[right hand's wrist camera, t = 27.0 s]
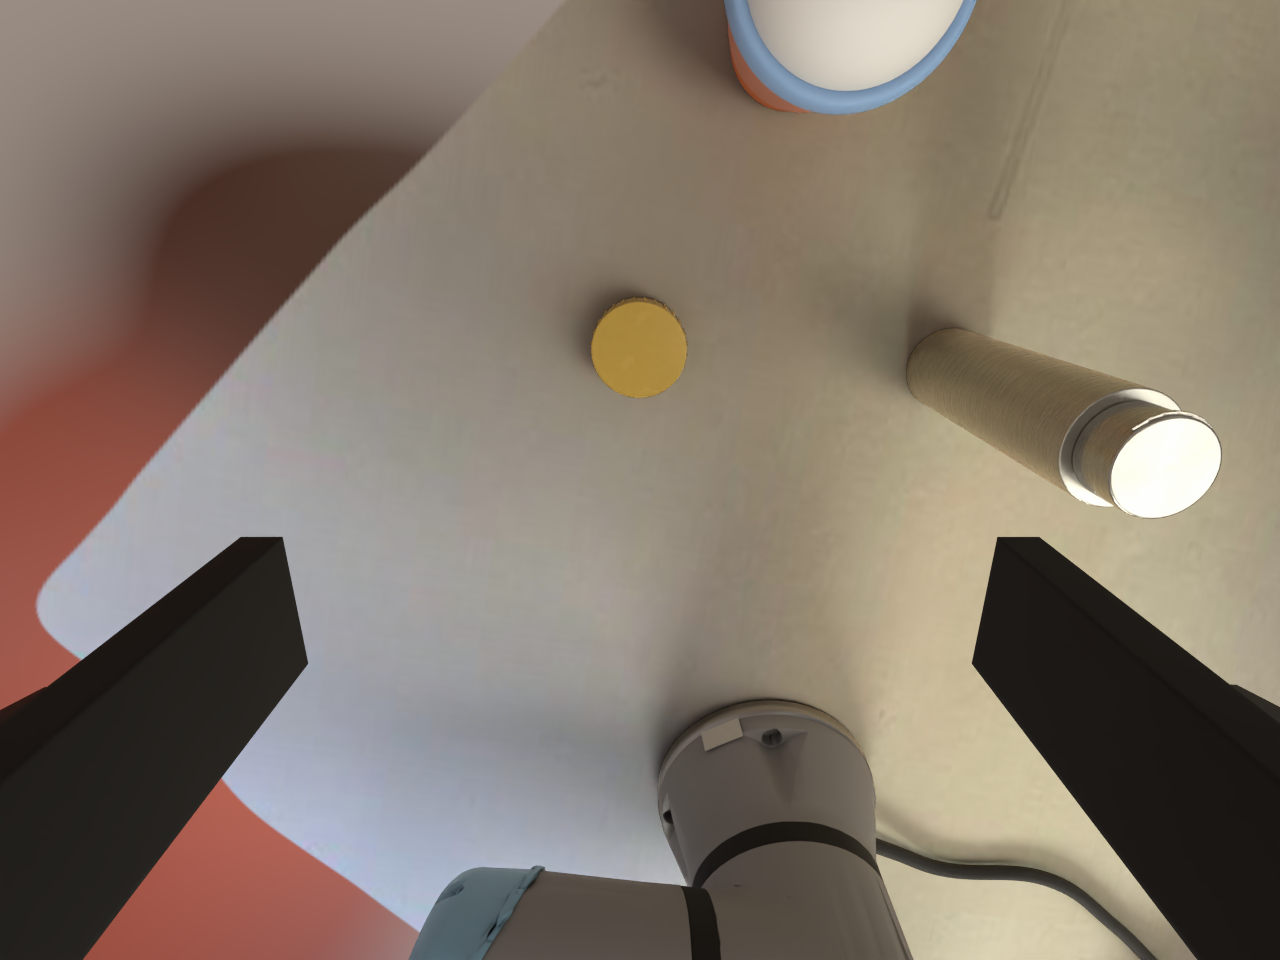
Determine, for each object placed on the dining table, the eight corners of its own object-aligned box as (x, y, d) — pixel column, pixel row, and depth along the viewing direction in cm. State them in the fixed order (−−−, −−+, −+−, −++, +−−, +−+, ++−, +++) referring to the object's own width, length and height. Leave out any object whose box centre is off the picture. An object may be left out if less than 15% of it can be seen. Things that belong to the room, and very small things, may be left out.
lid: (576, 321, 38) (572, 327, 36) (661, 279, 37) (663, 283, 35) (617, 404, 40) (616, 414, 37) (700, 365, 39) (703, 374, 37)
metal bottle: (1000, 375, 39) (1257, 481, 23) (930, 422, 40) (1129, 555, 24) (962, 311, 38) (1206, 373, 22) (891, 361, 39) (1072, 457, 23)
